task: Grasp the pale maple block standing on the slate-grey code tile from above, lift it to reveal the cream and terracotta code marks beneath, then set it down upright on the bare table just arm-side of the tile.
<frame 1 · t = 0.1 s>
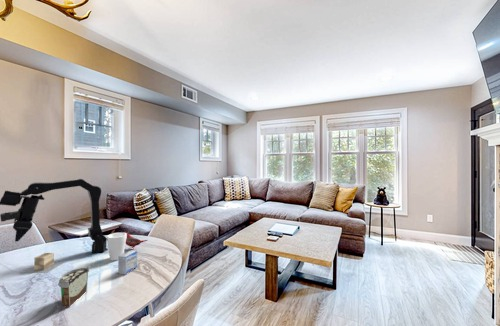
hand: (16, 239, 107), 15 cm above the table, tool pointing down, fingers open, 9 cm apart
medicine box: (127, 271, 109), on the table
maple block: (44, 267, 110), resting on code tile
foam cup: (116, 258, 123), on the table
food container: (70, 300, 85), on the table
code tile: (44, 267, 110), on the table
decorative bird figurine: (134, 249, 136), on the table
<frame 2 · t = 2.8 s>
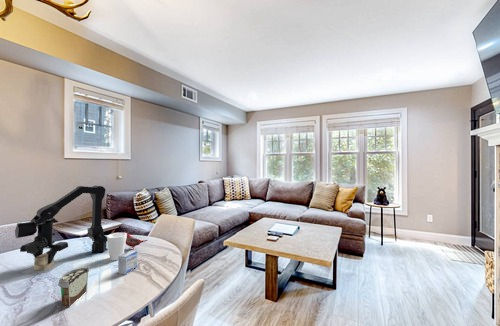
hand: (44, 263, 110), 2 cm above the table, tool pointing down, fingers closed on maple block, 4 cm apart
maple block: (44, 267, 110), resting on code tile, touching gripper
everything else where it was.
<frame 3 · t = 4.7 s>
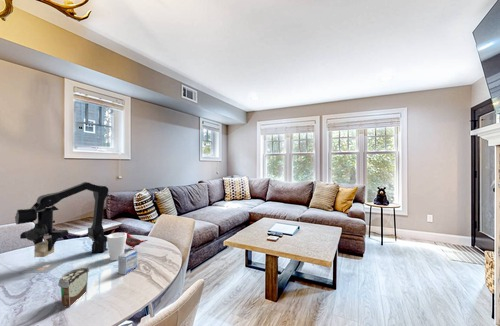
hand: (44, 250, 110), 8 cm above the table, tool pointing down, fingers closed on maple block, 4 cm apart
maple block: (44, 254, 110), point 7 cm above the table, touching gripper
everything else where it was.
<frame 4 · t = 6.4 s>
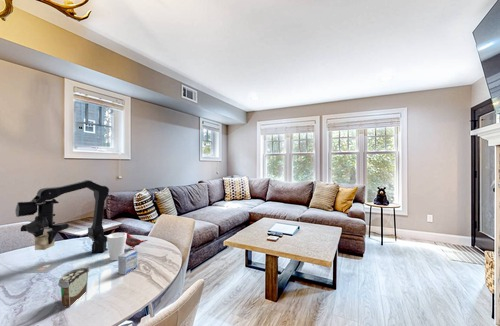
hand: (44, 243, 111), 12 cm above the table, tool pointing down, fingers closed on maple block, 4 cm apart
maple block: (44, 247, 111), point 10 cm above the table, touching gripper
everything else where it was.
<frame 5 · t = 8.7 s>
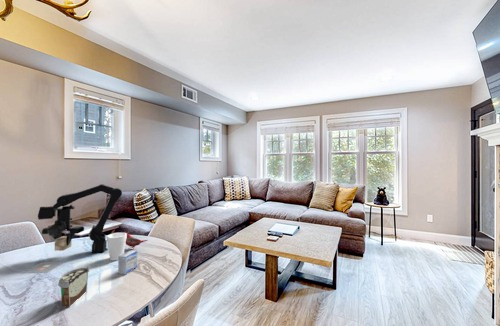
hand: (63, 245, 123), 7 cm above the table, tool pointing down, fingers closed on maple block, 4 cm apart
maple block: (63, 248, 122), point 5 cm above the table, touching gripper
everything else where it was.
when the fingers open (3 cm above the table, at t = 10.3 s): maple block drops 2 cm, on the table.
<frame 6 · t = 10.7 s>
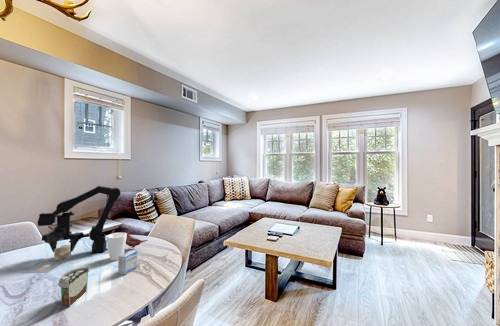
hand: (62, 251, 122), 3 cm above the table, tool pointing down, fingers open, 9 cm apart
maple block: (62, 257, 122), on the table
everything else where it was.
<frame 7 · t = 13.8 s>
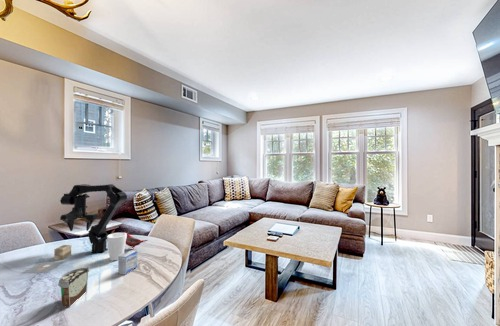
hand: (79, 230, 133), 12 cm above the table, tool pointing down, fingers open, 9 cm apart
nothing on the table moved.
at the end: maple block inside the target area (0.3 cm from its centre), on the table; maple block tilted 0°; maple block touching table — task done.
